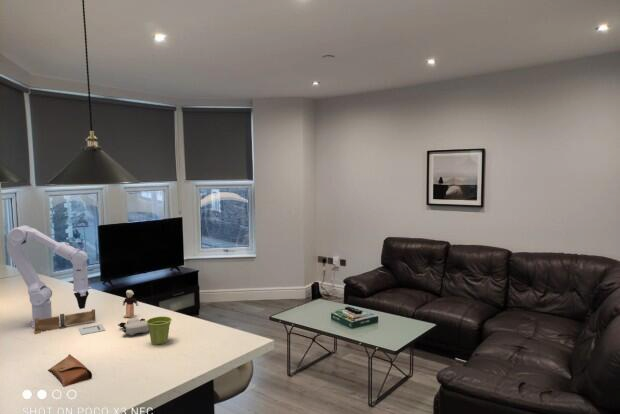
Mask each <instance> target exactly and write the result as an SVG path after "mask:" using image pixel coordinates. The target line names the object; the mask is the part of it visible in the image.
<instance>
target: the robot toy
mask: <svg viewBox="0 0 620 414" xmlns="http://www.w3.org/2000/svg"><path fill="white" fill-rule="evenodd" d="M146 321H147V320H146V318H141V319H139V318H135V317H133V318H129V319H128V320H126V322H123V321H122V322H120V323H118V324H117V326H118V327H120V328H121V332H123V333H125V334H126V335H129V336H135V335H136V334H139V333H141V334H143V333H144V334H145V333H147V332H148V331H149V327H148V324H147V323H146Z"/></svg>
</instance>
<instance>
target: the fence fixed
mask: <svg viewBox="0 0 620 414" xmlns="http://www.w3.org/2000/svg"><path fill="white" fill-rule="evenodd" d="M66 328H68V325H66V326H61V324H60V315H59V316H52V317H51V318H45V319H39V318H36V319H35V328H33V330H34V335H37V334H38V333H39V334H41V333H42V332H47V331H46V330H48V331H52V330H53V329H54V330H58V329H59V330H62V329H66ZM41 331H42V332H41Z"/></svg>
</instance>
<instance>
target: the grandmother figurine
mask: <svg viewBox="0 0 620 414" xmlns="http://www.w3.org/2000/svg"><path fill="white" fill-rule="evenodd" d="M125 294H126V297H125V299H124V300H123V301H122V306H123V307H124V306H125V315H124V317H123V318H125V319H127V318H129V319H134V318H135V306H136V307H137V306H139V303H138V300H136V298H134V297H133V295H135V293H134V291H133V290H132V289H127V290H126V292H125ZM134 304H135V306H134Z"/></svg>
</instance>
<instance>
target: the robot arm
mask: <svg viewBox="0 0 620 414" xmlns="http://www.w3.org/2000/svg"><path fill="white" fill-rule="evenodd" d="M6 239H7V246H6V251H7V253H8V256H9V257H10V258H11V260H12V263H13V264H14V265H15V267H16V269H17V271H18V272H19V274H20V276H21V277H22V279H23V281H24V283H25V284H26V286H27V294H28V296H29V302H30V304H31V316H32V317H31V318H32V320H31V321H30V322H31V328H32V329H35V319H36V318H39V319H45V318H51V317H53V315H52V313H53V311H52V301H51V298H52V296H53V291H52V288H50V287H48V286H47V284H46V283H45V282H43V280H41V278H40V277H39V275H38V273H37V271H36V269H34V266H33V264H32V263H31V261H30V259H29V258H28V256H27V254H26V252H25V250H24V247H25V245H26V244H27V242H38V243H39V244H42V245H44V246H46V247H49V248H51V249H52V250H54V253H55V254H56V255H57V256H59V257H61V258H64V259H65V260H67V261H70V263H71V264H72V278H73V279H72V280H73V289H72V290H73V292H74V293H73V295H74V297H75V298H76V302H77V306H78V308H79V310H82V309H86V304H87V299H88V296H89V291H88V290H90V289H92V286H89V276H88V274H89V273H88V259H89V254H88V253H87V252H86V251H85V250H83V249H82V250H81V249H80V248H75V247H73V246H72V245H70V243H69V242H63V241H62V242H58V241H56V240H55V239H53V238H52V237H50V236H48V235H46V234H44V233H43V232H41V231H39V230H38V229H36V228H34V227H31V226H30V225H28V224H26V225H25V224H24V225H20V226H18V227H14V228H11V229H10V231H9V232H8V234H7V236H6Z"/></svg>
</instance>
